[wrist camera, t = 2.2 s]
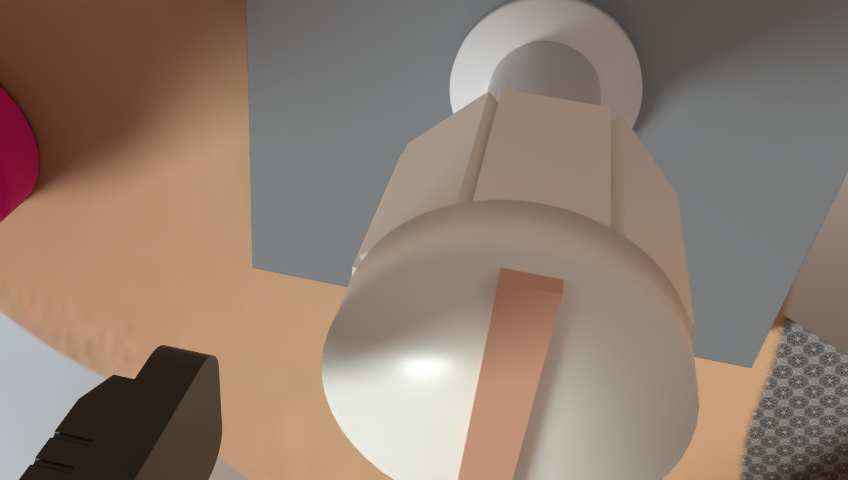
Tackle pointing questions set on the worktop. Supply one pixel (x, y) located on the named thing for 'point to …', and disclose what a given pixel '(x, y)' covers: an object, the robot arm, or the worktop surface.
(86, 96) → the worktop surface
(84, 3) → the worktop surface
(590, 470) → the cap
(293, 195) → the stand
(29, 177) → the pepper mill
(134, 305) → the worktop surface
